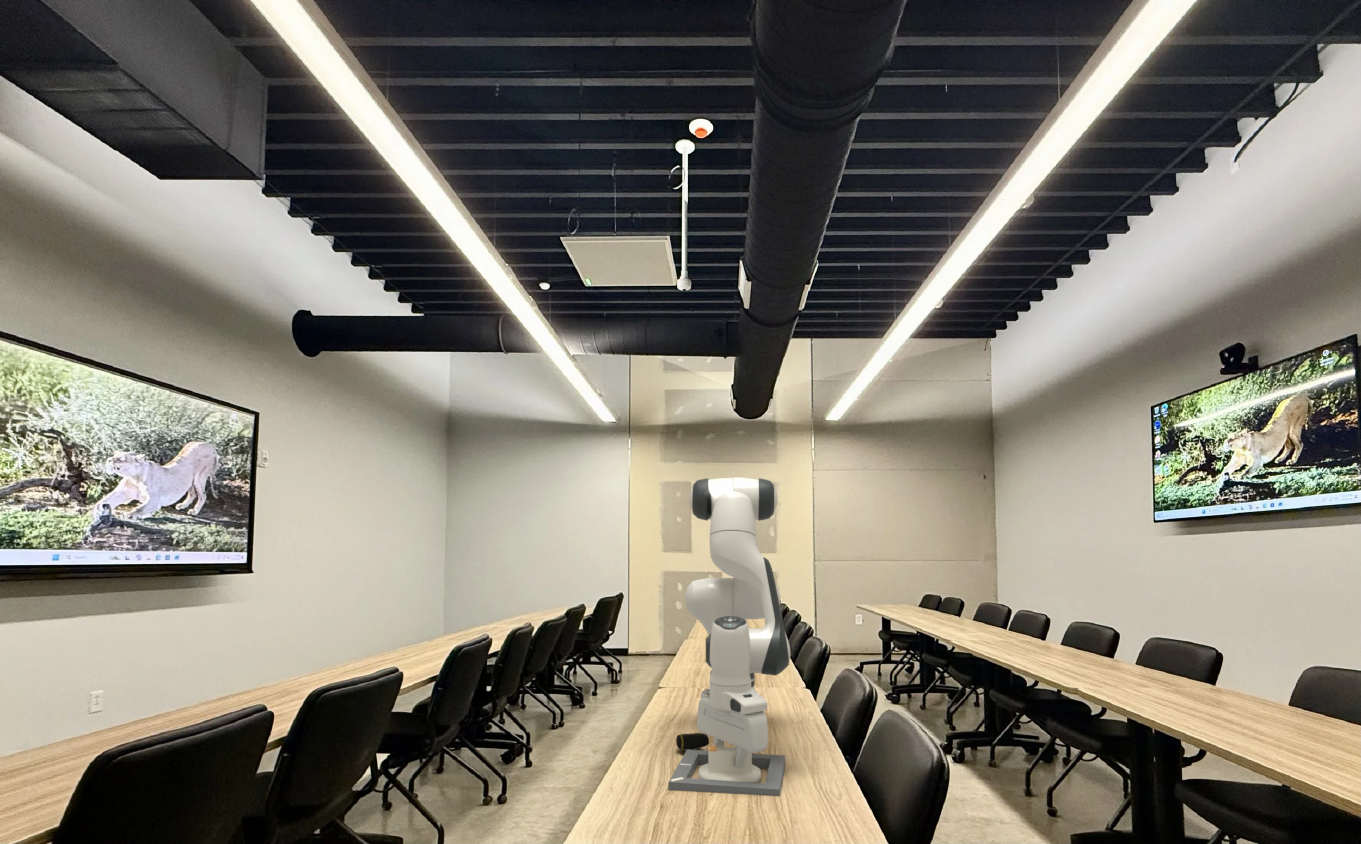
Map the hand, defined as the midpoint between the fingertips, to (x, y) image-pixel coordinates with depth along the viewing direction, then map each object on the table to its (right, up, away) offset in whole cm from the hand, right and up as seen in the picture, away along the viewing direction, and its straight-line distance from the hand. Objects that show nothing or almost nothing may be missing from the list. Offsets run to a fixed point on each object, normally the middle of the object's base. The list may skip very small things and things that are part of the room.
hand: (730, 763), depth 173 cm
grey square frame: (0, -3, 0) cm, 3 cm away
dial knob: (0, -3, 0) cm, 3 cm away
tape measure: (-5, -5, +19) cm, 20 cm away
